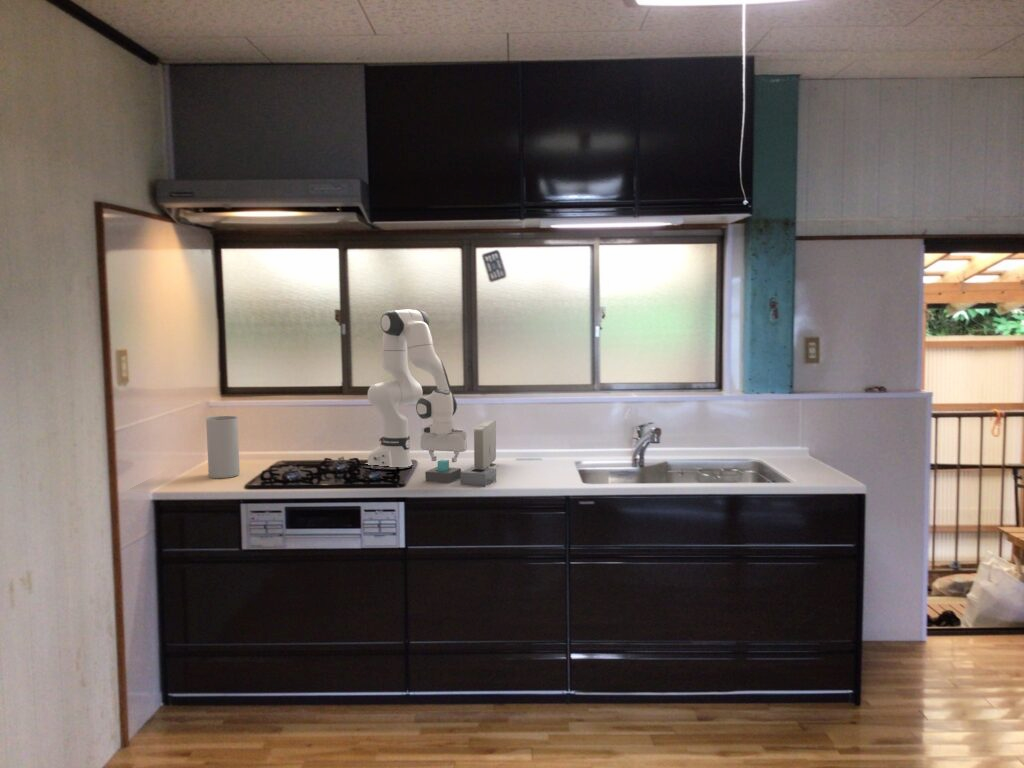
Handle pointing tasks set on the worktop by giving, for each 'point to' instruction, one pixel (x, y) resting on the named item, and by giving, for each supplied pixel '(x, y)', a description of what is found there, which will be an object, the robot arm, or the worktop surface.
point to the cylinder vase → (223, 446)
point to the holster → (443, 475)
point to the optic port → (478, 476)
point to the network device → (485, 445)
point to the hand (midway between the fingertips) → (444, 461)
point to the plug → (443, 465)
